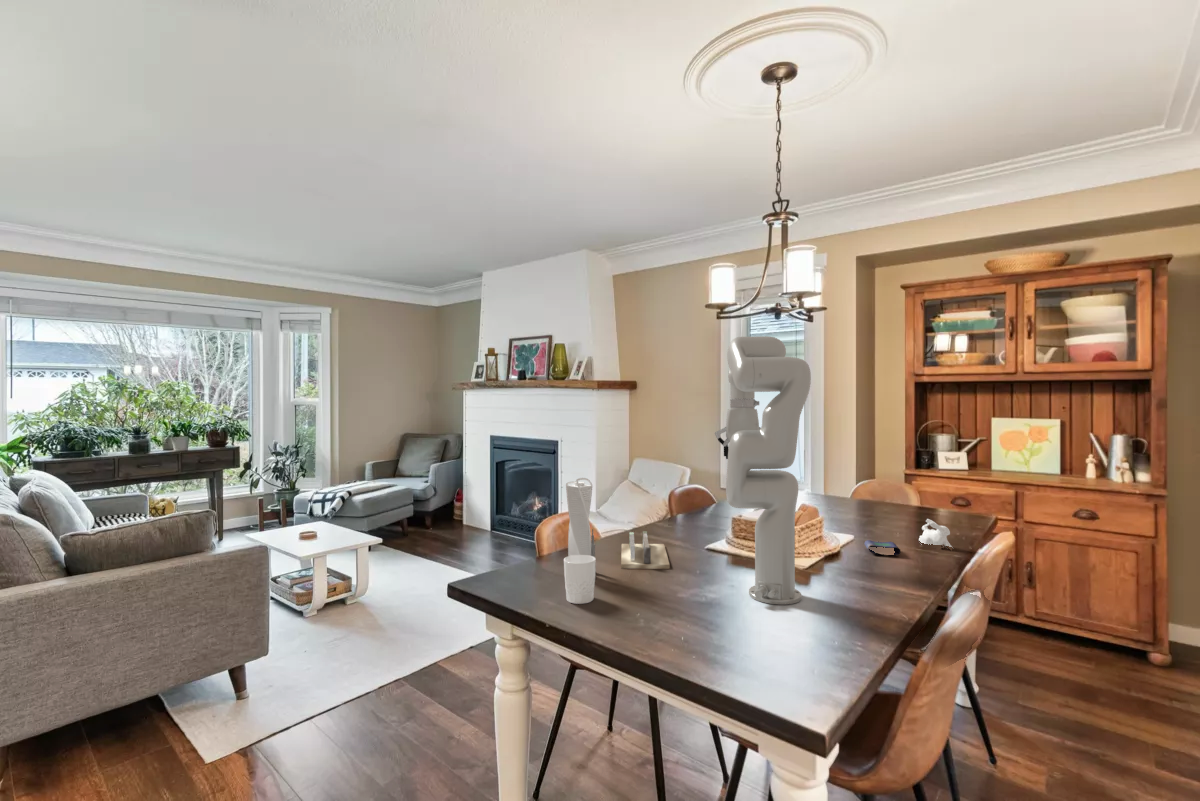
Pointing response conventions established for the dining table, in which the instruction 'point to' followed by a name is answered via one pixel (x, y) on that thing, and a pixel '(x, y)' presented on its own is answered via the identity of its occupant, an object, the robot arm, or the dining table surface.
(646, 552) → the tong rest
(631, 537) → the bar
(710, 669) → the dining table surface
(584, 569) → the white cup
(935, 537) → the rabbit figurine
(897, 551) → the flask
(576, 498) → the skyscraper
